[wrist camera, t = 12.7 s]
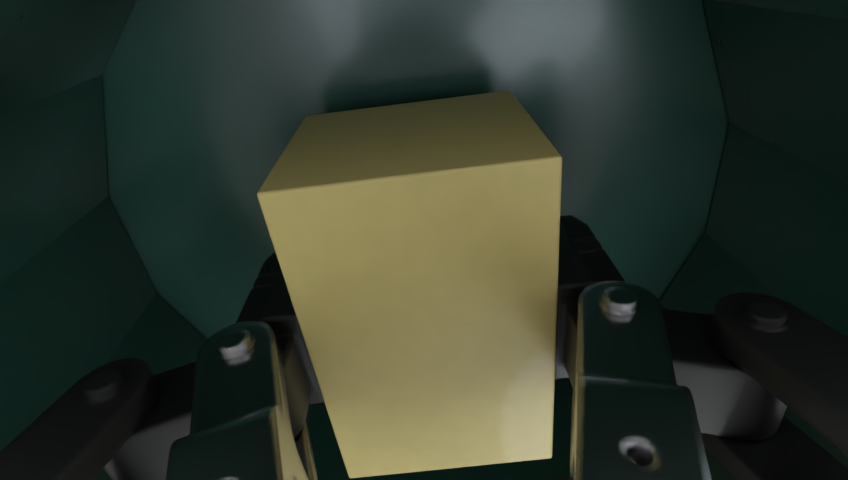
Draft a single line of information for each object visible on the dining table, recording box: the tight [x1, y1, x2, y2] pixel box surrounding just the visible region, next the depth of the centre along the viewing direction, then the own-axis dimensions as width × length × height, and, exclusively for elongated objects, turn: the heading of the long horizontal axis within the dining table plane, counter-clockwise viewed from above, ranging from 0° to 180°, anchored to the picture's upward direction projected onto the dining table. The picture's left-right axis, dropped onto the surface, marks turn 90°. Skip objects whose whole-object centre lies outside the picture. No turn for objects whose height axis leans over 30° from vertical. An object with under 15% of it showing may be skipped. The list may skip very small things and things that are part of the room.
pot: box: [0, 0, 848, 480], centre depth 10 cm, size 18×18×8 cm
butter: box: [257, 90, 562, 478], centre depth 10 cm, size 7×4×4 cm, turn 7°
